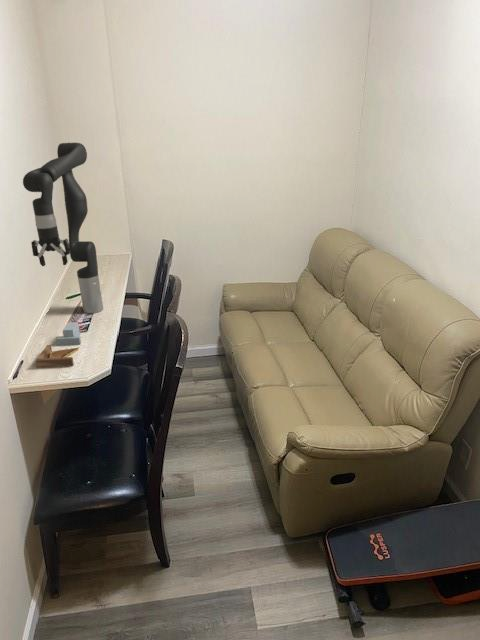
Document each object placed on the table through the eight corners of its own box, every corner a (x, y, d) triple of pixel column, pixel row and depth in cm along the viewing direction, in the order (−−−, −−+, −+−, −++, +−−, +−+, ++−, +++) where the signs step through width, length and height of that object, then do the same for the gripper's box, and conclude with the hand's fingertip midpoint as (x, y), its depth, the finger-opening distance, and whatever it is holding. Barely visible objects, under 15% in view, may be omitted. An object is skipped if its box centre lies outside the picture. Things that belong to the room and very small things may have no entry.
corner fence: (48, 352, 185) (46, 345, 183) (81, 350, 185) (80, 343, 184) (37, 367, 173) (35, 360, 171) (72, 366, 173) (71, 358, 172)
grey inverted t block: (64, 335, 199) (62, 322, 196) (86, 334, 199) (84, 321, 197) (57, 345, 190) (55, 332, 188) (80, 344, 190) (77, 331, 188)
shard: (79, 350, 186) (79, 346, 185) (79, 359, 179) (78, 355, 179) (50, 354, 183) (49, 350, 182) (49, 363, 176) (48, 359, 176)
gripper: (67, 222, 189) (74, 261, 195) (31, 224, 188) (39, 263, 194) (62, 226, 182) (69, 267, 188) (24, 228, 181) (33, 268, 188)
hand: (54, 265), depth 191 cm, fingers open, 8 cm apart
